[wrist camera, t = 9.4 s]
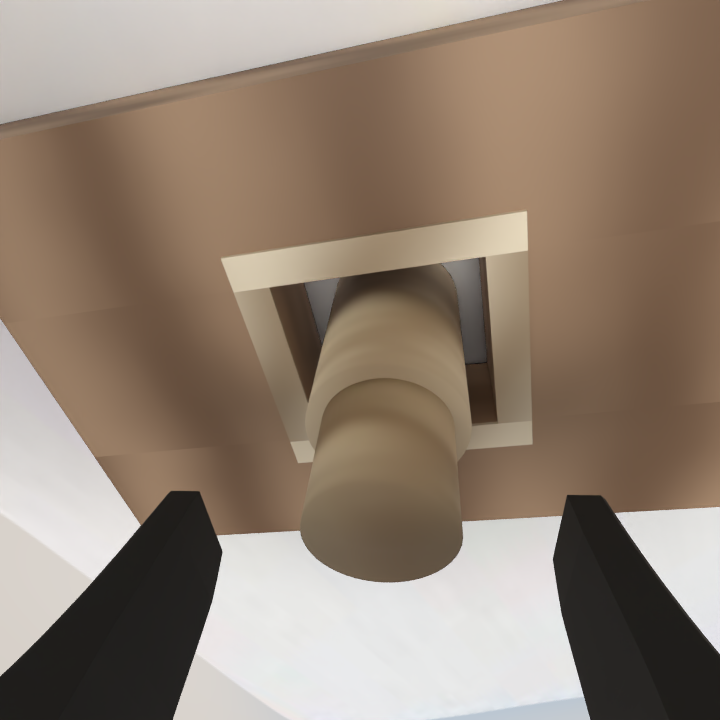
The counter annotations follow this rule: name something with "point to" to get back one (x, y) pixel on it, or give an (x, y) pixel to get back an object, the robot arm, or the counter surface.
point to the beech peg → (388, 428)
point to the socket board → (390, 256)
